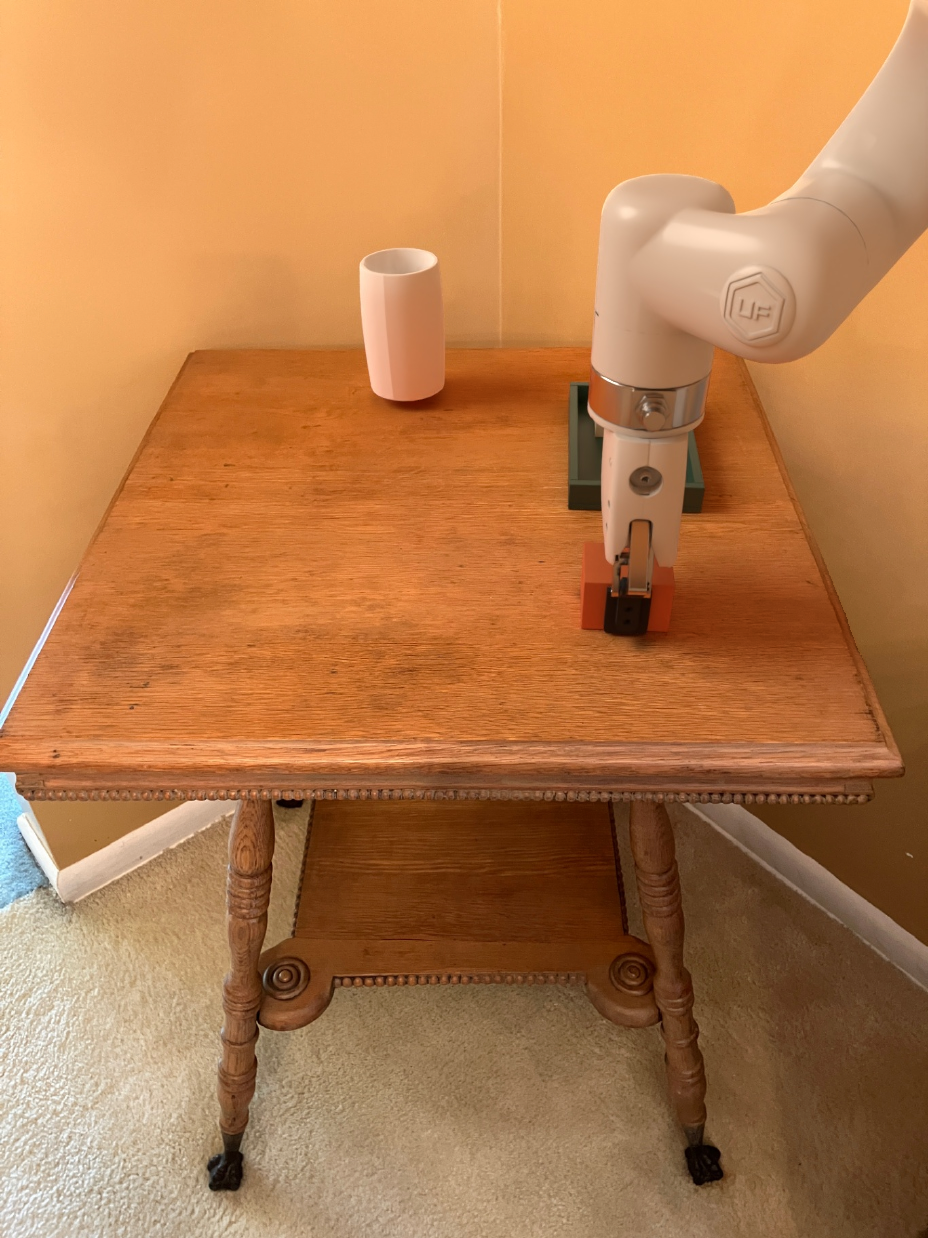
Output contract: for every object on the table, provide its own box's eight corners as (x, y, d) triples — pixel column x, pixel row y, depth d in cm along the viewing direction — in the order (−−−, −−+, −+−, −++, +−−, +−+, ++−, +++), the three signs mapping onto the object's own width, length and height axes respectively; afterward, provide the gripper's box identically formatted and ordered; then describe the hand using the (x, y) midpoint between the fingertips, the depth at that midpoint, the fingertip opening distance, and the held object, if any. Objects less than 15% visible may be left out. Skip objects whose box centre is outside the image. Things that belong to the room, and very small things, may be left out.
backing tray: (700, 513, 80) (705, 487, 78) (567, 509, 81) (569, 484, 79) (681, 406, 95) (684, 383, 93) (568, 404, 96) (569, 381, 94)
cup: (459, 382, 100) (454, 250, 91) (431, 418, 94) (423, 280, 85) (387, 372, 103) (376, 242, 93) (356, 406, 97) (341, 271, 88)
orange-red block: (668, 632, 68) (675, 585, 66) (580, 628, 69) (584, 582, 66) (663, 590, 72) (669, 544, 69) (580, 587, 73) (583, 541, 70)
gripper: (724, 460, 52) (682, 687, 64) (694, 334, 65) (664, 543, 77) (590, 457, 53) (574, 682, 64) (587, 333, 65) (574, 540, 77)
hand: (623, 604), depth 70 cm, fingers closed on orange-red block, 5 cm apart
